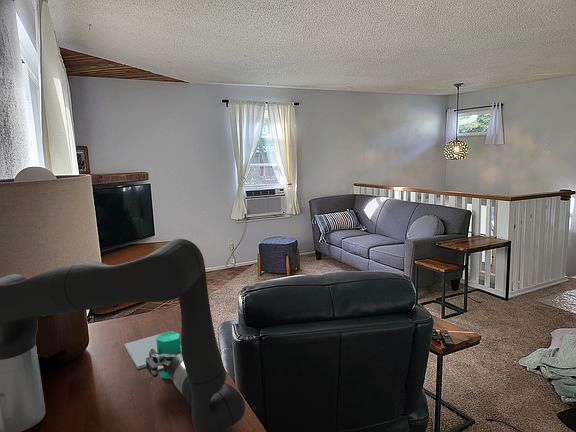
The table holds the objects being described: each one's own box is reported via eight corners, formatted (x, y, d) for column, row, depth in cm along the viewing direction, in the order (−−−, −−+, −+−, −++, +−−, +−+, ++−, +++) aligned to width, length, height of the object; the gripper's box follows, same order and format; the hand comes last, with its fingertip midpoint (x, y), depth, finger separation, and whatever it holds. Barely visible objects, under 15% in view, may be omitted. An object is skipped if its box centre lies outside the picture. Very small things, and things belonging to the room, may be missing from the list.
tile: (186, 353, 114) (186, 351, 114) (137, 369, 106) (137, 366, 106) (169, 333, 127) (169, 331, 127) (124, 346, 119) (124, 343, 119)
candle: (168, 381, 100) (164, 338, 98) (154, 373, 104) (151, 332, 102) (186, 370, 105) (183, 329, 103) (173, 363, 108) (170, 324, 106)
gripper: (216, 350, 94) (192, 327, 107) (157, 370, 86) (139, 341, 99) (218, 378, 95) (194, 351, 108) (160, 400, 87) (142, 368, 100)
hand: (168, 347), depth 104 cm, fingers open, 8 cm apart
